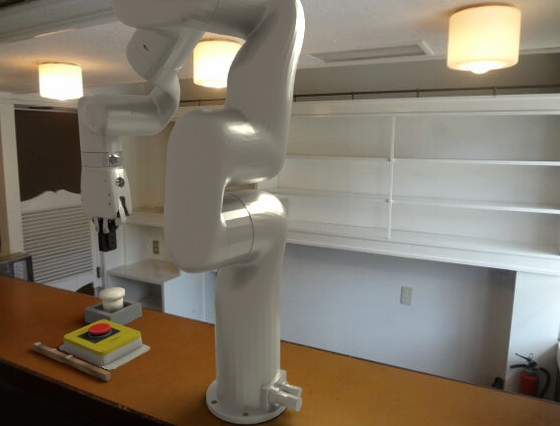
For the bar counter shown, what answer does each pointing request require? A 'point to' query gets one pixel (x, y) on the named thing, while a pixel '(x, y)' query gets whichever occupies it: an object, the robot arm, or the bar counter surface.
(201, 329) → the bar counter surface
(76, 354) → the emergency button
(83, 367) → the rail
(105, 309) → the plunger
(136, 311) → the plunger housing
